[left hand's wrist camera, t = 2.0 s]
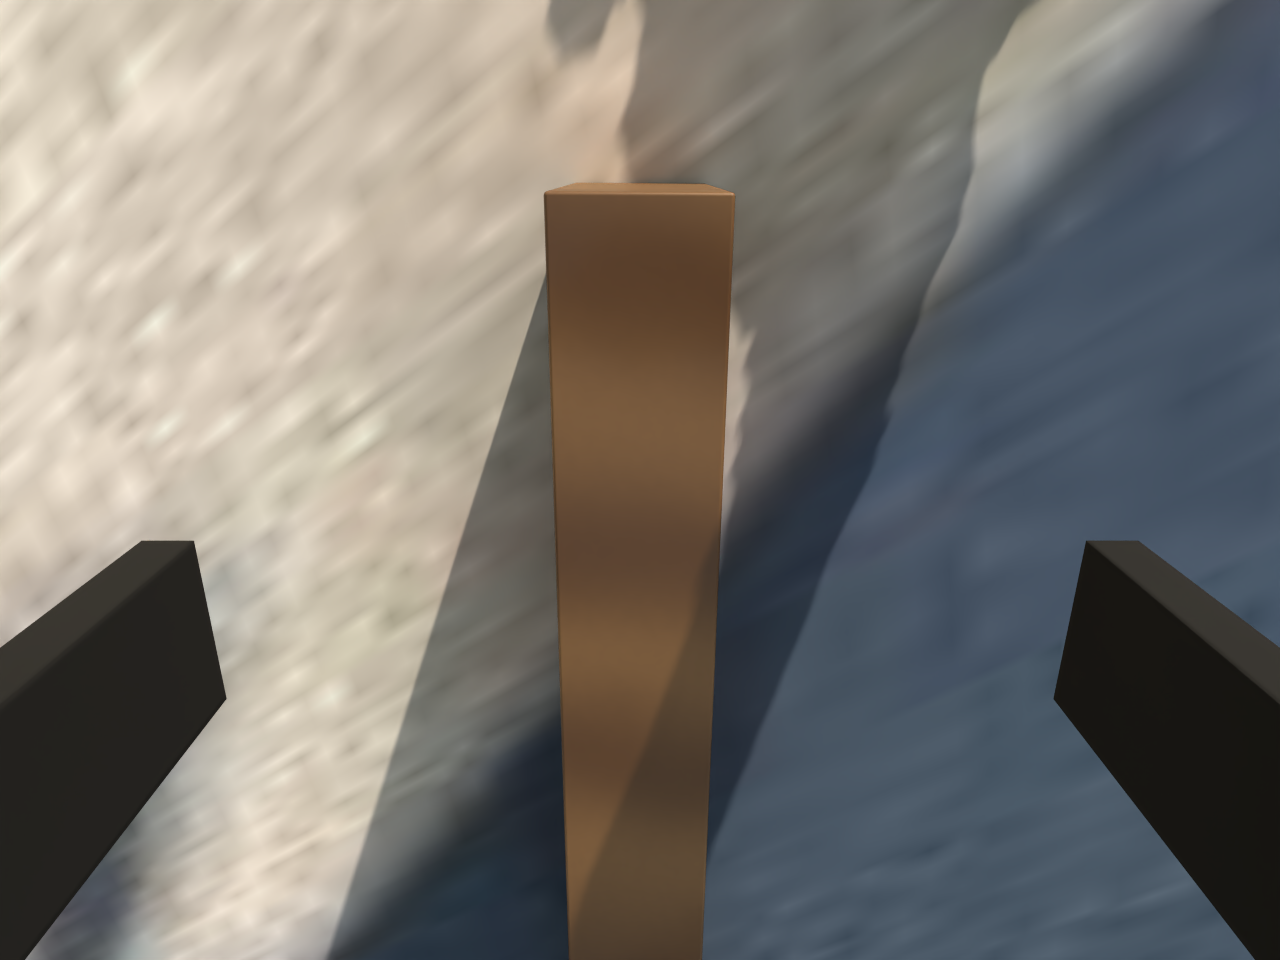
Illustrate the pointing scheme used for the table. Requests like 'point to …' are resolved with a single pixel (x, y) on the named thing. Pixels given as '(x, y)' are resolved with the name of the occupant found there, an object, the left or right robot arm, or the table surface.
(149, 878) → the table surface
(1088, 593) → the left robot arm
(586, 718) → the bar
